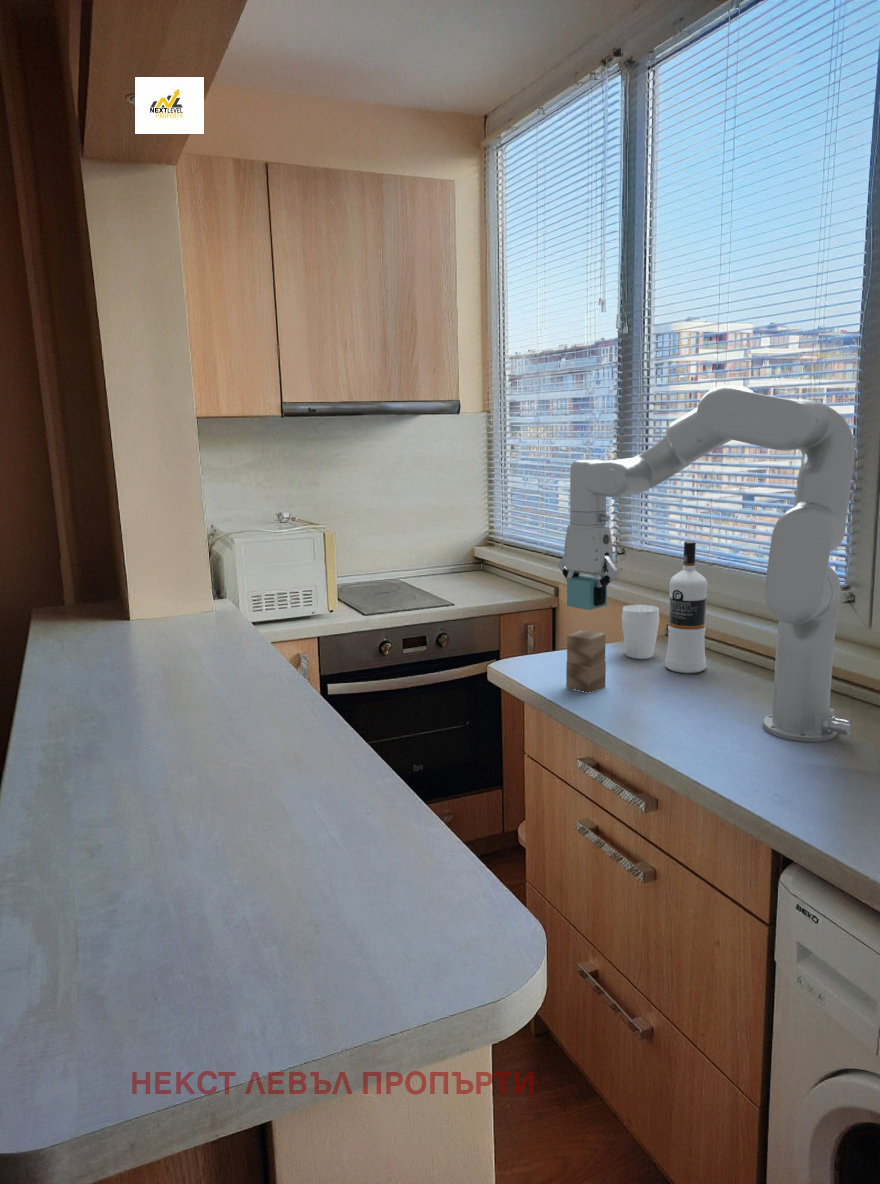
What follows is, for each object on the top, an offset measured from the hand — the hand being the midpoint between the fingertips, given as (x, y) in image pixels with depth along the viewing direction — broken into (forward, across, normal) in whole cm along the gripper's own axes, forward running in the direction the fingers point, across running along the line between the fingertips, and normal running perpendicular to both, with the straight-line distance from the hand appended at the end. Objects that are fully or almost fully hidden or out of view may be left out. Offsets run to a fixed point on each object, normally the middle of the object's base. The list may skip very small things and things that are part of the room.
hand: (586, 601), depth 175 cm
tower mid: (+13, 0, 0) cm, 13 cm away
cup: (+19, +6, -29) cm, 35 cm away
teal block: (+1, 0, 0) cm, 1 cm away
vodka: (+19, -8, -27) cm, 34 cm away
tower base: (+19, 0, 0) cm, 19 cm away
